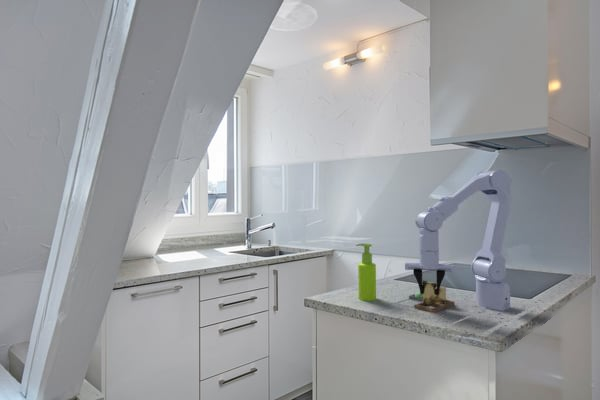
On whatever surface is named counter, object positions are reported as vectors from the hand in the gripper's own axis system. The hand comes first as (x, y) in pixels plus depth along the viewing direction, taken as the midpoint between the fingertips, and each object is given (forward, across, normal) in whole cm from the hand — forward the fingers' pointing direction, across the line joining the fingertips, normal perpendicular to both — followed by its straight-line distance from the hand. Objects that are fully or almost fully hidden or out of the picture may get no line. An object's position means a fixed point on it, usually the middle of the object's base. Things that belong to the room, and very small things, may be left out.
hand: (429, 293), depth 122 cm
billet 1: (+3, 0, 0) cm, 3 cm away
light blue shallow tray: (+6, +6, -5) cm, 10 cm away
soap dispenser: (+6, +21, -6) cm, 23 cm away
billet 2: (+5, -3, -5) cm, 8 cm away
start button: (+5, +4, -11) cm, 13 cm away
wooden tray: (+6, -2, -3) cm, 6 cm away
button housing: (+6, +4, -11) cm, 13 cm away
